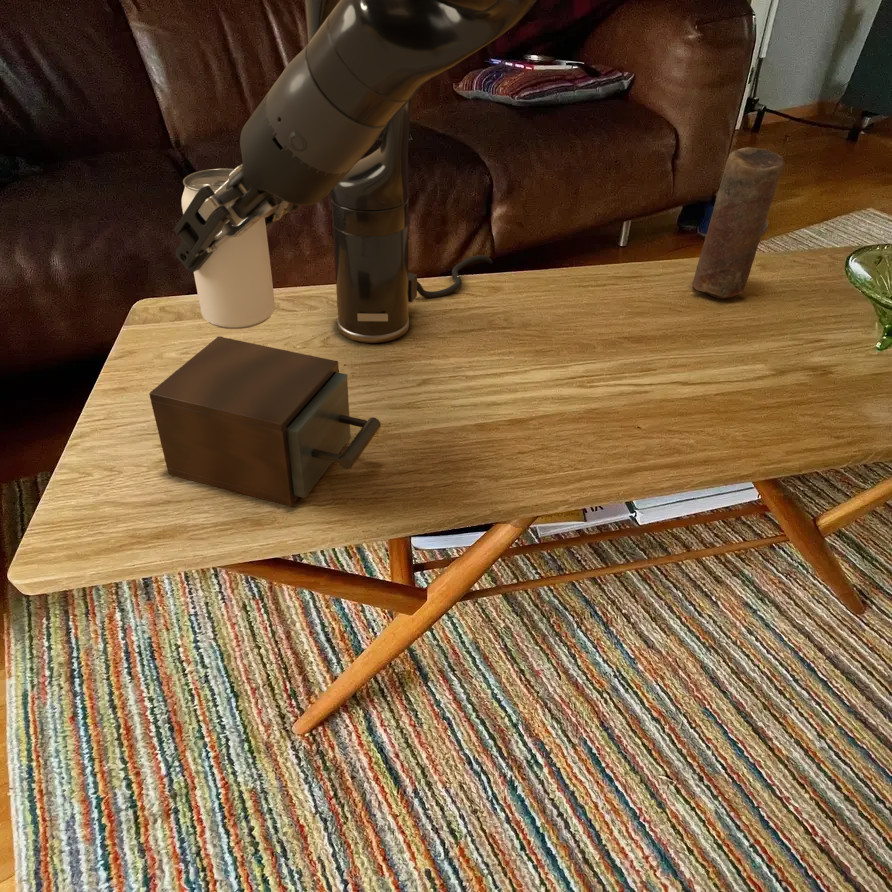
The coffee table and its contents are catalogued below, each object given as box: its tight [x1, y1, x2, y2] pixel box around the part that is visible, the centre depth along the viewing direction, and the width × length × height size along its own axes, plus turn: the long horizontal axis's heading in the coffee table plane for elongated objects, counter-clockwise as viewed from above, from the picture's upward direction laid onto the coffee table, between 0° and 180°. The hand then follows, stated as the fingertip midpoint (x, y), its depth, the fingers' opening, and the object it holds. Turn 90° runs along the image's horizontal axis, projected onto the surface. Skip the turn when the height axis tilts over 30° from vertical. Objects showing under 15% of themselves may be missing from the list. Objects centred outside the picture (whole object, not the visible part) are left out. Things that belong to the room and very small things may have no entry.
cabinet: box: [148, 336, 340, 507], centre depth 75 cm, size 14×12×10 cm
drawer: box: [287, 372, 382, 499], centre depth 74 cm, size 17×10×8 cm, turn 71°
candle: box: [692, 146, 785, 299], centre depth 107 cm, size 8×7×20 cm
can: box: [180, 168, 276, 330], centre depth 65 cm, size 6×6×12 cm
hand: (215, 247), depth 65 cm, fingers closed on can, 6 cm apart
